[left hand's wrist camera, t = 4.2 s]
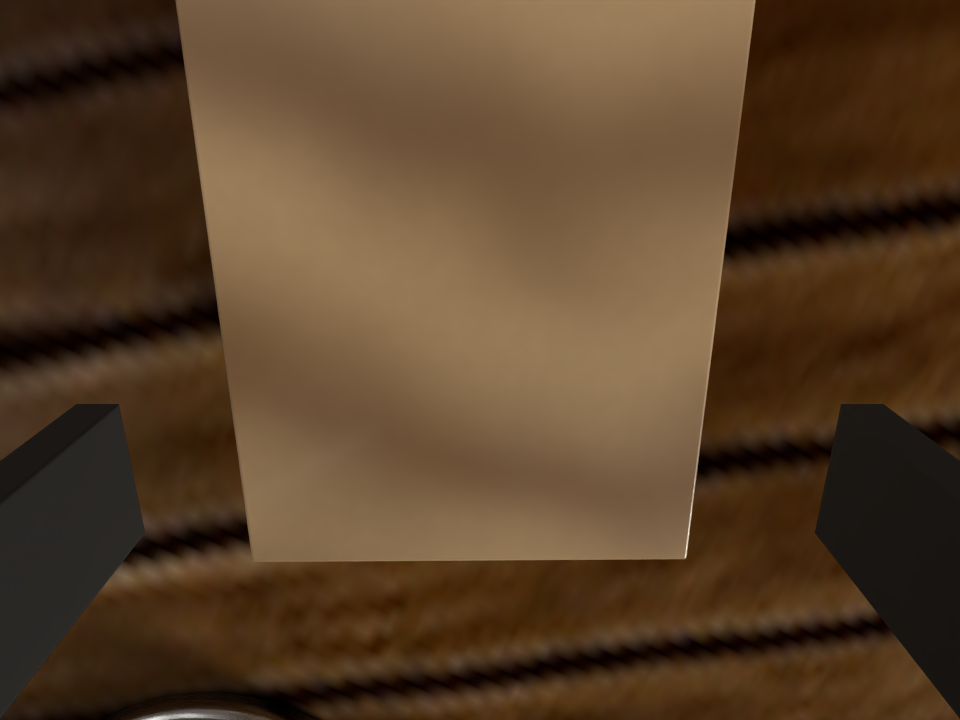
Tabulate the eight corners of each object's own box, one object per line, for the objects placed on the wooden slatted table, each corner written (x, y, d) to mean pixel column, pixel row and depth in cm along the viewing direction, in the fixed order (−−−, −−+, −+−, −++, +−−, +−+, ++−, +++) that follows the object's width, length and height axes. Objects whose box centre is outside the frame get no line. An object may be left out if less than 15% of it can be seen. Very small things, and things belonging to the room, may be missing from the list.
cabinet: (268, -320, 18) (73, -732, 9) (664, -317, 18) (847, -723, 9) (328, 404, 25) (251, 562, 16) (612, 403, 25) (687, 559, 16)
